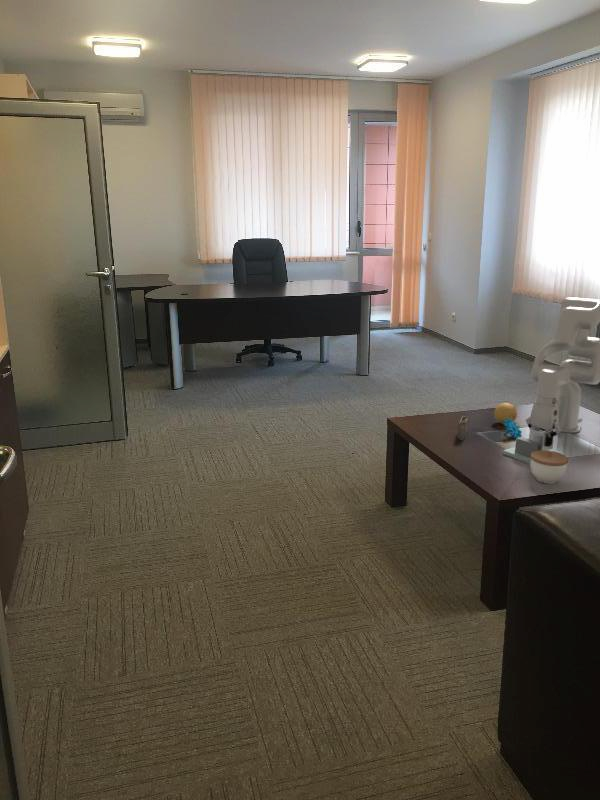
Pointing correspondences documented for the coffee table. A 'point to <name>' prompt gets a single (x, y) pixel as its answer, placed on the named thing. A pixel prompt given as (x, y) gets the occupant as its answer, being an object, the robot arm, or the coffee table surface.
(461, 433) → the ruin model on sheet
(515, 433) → the gear
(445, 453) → the coffee table surface
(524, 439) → the plate with grey stand
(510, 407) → the stress ball
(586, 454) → the coffee table surface
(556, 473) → the lidded bowl
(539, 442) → the grey box with knob
